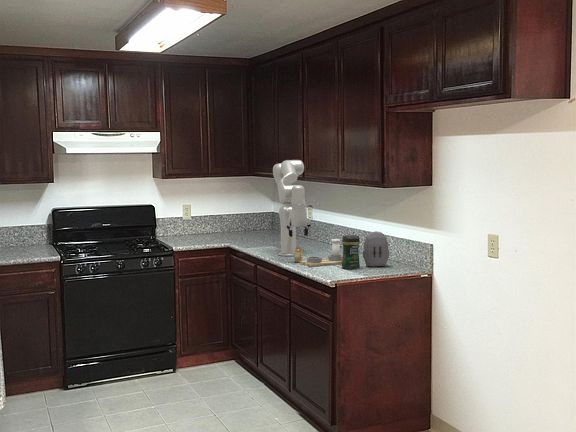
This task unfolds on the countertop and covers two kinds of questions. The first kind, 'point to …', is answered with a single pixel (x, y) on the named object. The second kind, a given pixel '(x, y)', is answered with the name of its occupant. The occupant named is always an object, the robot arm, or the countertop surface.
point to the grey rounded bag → (376, 249)
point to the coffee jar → (350, 252)
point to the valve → (298, 255)
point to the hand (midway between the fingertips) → (298, 236)
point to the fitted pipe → (335, 251)
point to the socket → (314, 259)
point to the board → (324, 263)
